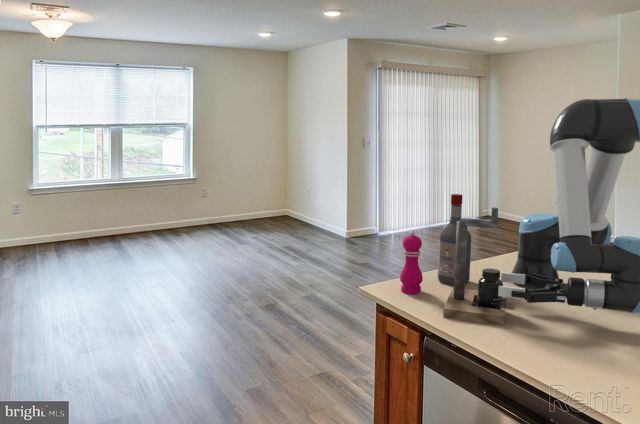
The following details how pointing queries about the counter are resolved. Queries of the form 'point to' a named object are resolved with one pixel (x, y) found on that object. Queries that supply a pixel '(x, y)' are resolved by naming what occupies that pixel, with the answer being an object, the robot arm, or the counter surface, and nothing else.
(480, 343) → the counter surface
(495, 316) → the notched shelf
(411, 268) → the pepper mill
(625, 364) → the counter surface
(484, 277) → the supplement bottle
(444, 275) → the liquor
